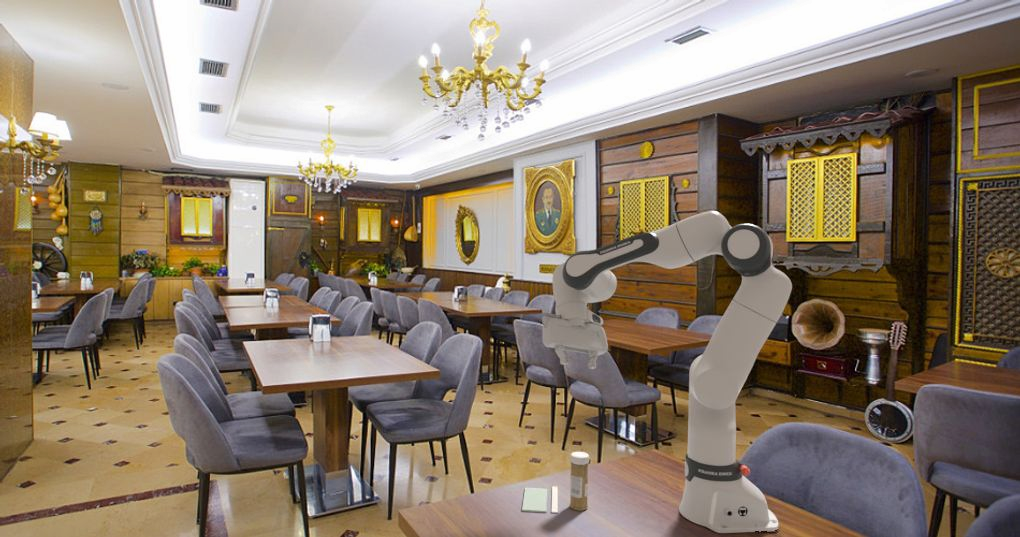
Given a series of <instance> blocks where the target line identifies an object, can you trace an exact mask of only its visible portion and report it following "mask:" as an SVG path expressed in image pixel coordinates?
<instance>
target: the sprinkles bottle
mask: <svg viewBox="0 0 1020 537" xmlns="http://www.w3.org/2000/svg"><path fill="white" fill-rule="evenodd" d="M589 462H590V455H589V454H588V453H587V452H585V451H572V453H570V483H569V484H570V485H569V486H570V488H569V489H570V491H569V493H570V503H569V507H570V508H571V509H572V510H575V511H577V512H578V511H579V512H580V511H581V512H582V511H585V510H587V509H588V507H589V505H588V494H589V493H588V492H589V476H588V475H589Z"/></svg>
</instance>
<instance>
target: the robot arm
mask: <svg viewBox="0 0 1020 537" xmlns="http://www.w3.org/2000/svg"><path fill="white" fill-rule="evenodd" d="M711 255H712V256H713V255H719V256H722V257H723V259H724V260H725V261H726V262H727V264H728V265H729V266H730V267H731V269H733V270H735V271H737V273H738V274H739V275H741V284H740V286H739V288H738V290H737V291H736V293H735V295H734V296H733V299H732V300H731V302H730V303H729V305H728V306H727V308H726V310H725V312H724V314H723V315H722V317H721V318H720V320H719V322H718V324H717V325H716V327H715V329H714V331H713V334H712V336H711V337H710V340H709V342H708V344H707V345H706V347H705V350H704V351H703V353H702V354H700V355H698V356H697V357H696V358H695V359H694V360H693V361H692V362H691V364H690V368H689V377H688V378H689V379H688V421H687V423H688V424H687V426H688V427H687V428H688V429H687V453H685V459H684V477H685V481H684V482H685V483H684V490H683V494H682V498H681V501H680V504H679V507H678V511H679V513H680V514H681V515H682V517H683V518H685V519H687V520H688V521H690V522H692V523H694V524H697V525H699V526H702V527H705V528H708V529H710V530H711V531H713V532H715V533H718V534H734V533H736V534H737V533H756V532H755V531H759V533H761V531H767V532H776V531H775V530H777V529H778V530H779V528H780V527H779V520H778V518H777V516H776V514H774V513H773V512H772V510H770V509H769V507H768V502H767V500H766V497H765V495H764V493H763V492H762V491H761V490H760V489H759V488H758V487H757V486H756V485H755V484H754V483H753V482H751V481H750V480H749V479H748V478H747V477H748V476H749V475H751V469H750V467H748V466H747V465H746V464H743V462H741V461H740V460H739V459H737V458H736V446H737V444H736V442H737V440H736V439H737V438H736V437H737V419H736V418H737V416H736V400H737V399H738V396H739V394H740V392H741V390H742V388H743V387H744V384H745V383H746V381H747V379H748V376H749V375H750V373H751V371H752V370H753V367H754V364H755V362H756V360H757V357H758V355H759V353H760V351H761V349H763V346H764V345H765V343H766V341H767V340H768V338H769V336H770V335H771V333H772V331H773V330H774V328H775V326H776V325H777V323H778V321H779V319H780V317H781V316H782V315H783V313H784V310H785V308H786V306H787V303H788V301H789V300H790V296H791V293H792V289H793V284H792V281H791V279H790V278H789V276H788V275H787V274H786V273H785V272H783V271H781V270H780V269H777V267H775V266H773V263H772V262H773V260H774V256H775V249H774V244H773V241H772V239H771V237H770V236H769V235H768V233H767V232H766V231H765V230H764V229H763V228H762V227H760V226H758V225H755V224H753V223H740V224H736V225H734V226H731V225H730V223H729V221H728V220H727V218H726V216H724V215H723V214H722V213H721V212H719V211H716V210H708V211H705V212H701V213H698V214H695V215H692V216H688V217H686V218H684V219H682V220H679V221H676V222H675V223H673V224H670V225H668V226H665V227H662V228H659V229H657V230H653V231H647V232H642V233H639V234H635V235H632V236H629V237H625V238H624V239H620V240H617V241H614V242H612V243H610V244H607V245H603V246H601V247H598V248H596V249H590V250H581V251H576V252H574V253H572V254H571V255H570V256H568V258H567V259H566V260H565V262H563V263H561V264H559V265H557V266H556V267H555V269H554V271H553V273H552V293H553V298H554V302H555V307H554V310H555V314H554V313H549V312H546V313H544V314H543V316H542V317H541V321H542V330H541V331H542V332H541V333H542V334H541V335H542V337H541V340H542V344H543V345H544V347H546V348H551V349H554V352H555V353H556V354H555V355H556V356H557V357H558V358H559V363H560V365H563V366H564V365H565V366H566V365H568V364H570V362H569V356H567V355H565V352H564V351H567V352H568V351H570V352H576V353H582V354H588V357H589V358H590V360H589V361H588V362H587V368H588V369H591V370H594V369H596V368H597V360H598V356H601V355H604V354H605V353H606V354H607V351H608V350H609V344H608V338H607V334H606V330H605V329H604V327H602V326H603V325H604V319H603V317H601V316H600V315H597V314H596V313H594V312H593V311H591V310H590V309H589V308H588V304H594V303H601V302H605V301H606V302H607V300H610V299H611V298H612V297H613V296H614V294H615V293H616V291H617V289H618V288H617V287H618V279H617V277H616V275H615V274H614V273H613V272H612V271H611V270H613V269H616V268H619V267H622V266H624V265H627V264H630V263H636V262H638V263H639V262H643V263H648V264H651V265H655V266H658V267H661V268H664V269H667V270H668V269H669V270H673V269H677V268H678V269H679V268H681V267H685V266H688V265H690V264H693V263H695V262H698V261H699V260H701V259H703V258H706V257H709V256H711ZM778 527H779V528H778ZM778 530H777V531H778Z"/></svg>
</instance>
